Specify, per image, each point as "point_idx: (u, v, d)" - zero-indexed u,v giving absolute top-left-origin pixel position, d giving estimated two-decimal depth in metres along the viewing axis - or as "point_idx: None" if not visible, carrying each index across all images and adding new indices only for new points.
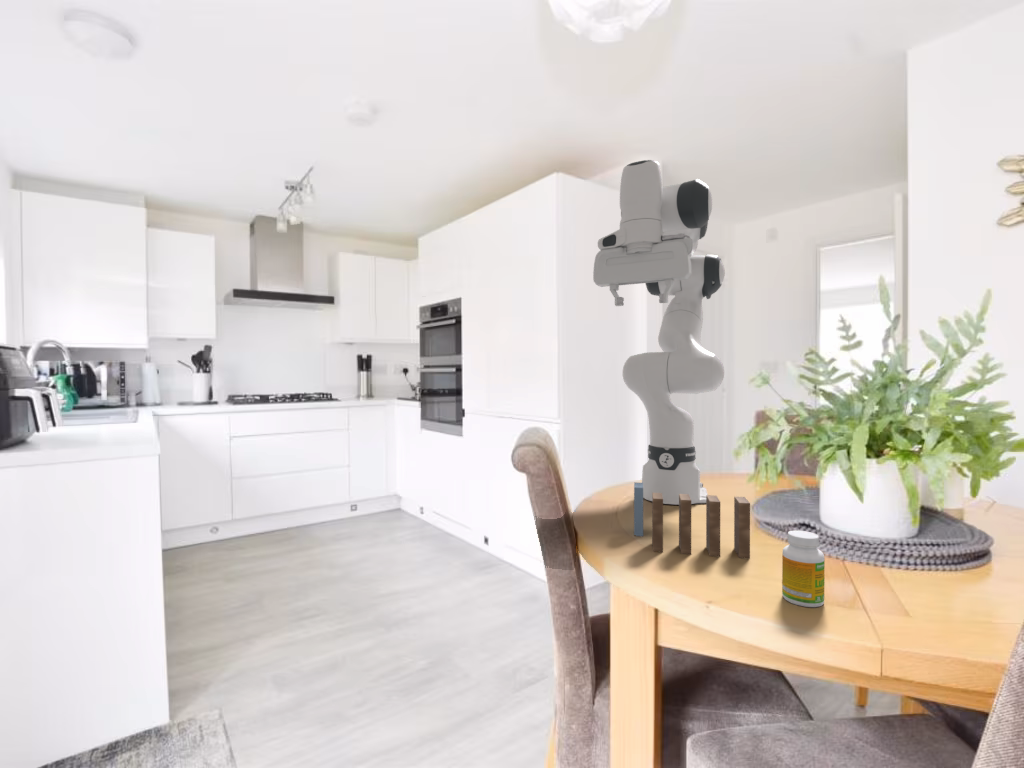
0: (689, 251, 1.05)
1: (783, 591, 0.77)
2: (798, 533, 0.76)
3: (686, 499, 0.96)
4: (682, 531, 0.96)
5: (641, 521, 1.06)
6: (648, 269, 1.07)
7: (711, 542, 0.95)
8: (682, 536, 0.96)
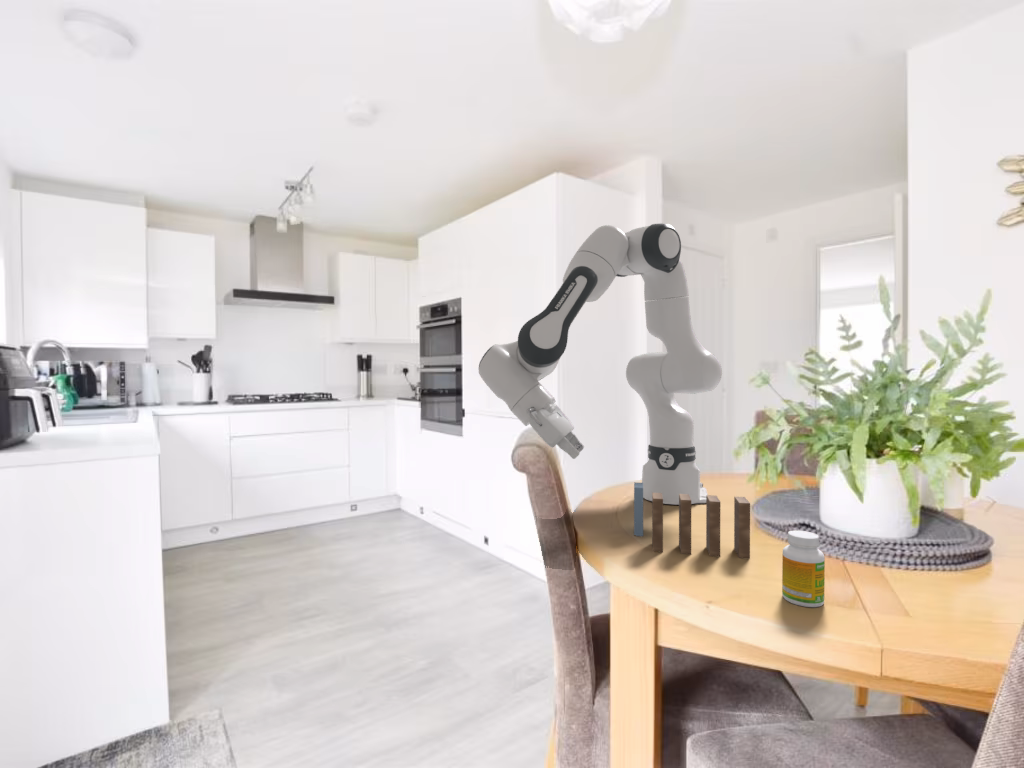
0: (538, 424, 1.03)
1: (783, 591, 0.77)
2: (798, 533, 0.76)
3: (686, 499, 0.96)
4: (682, 531, 0.96)
5: (641, 521, 1.06)
6: None
7: (711, 542, 0.95)
8: (682, 536, 0.96)
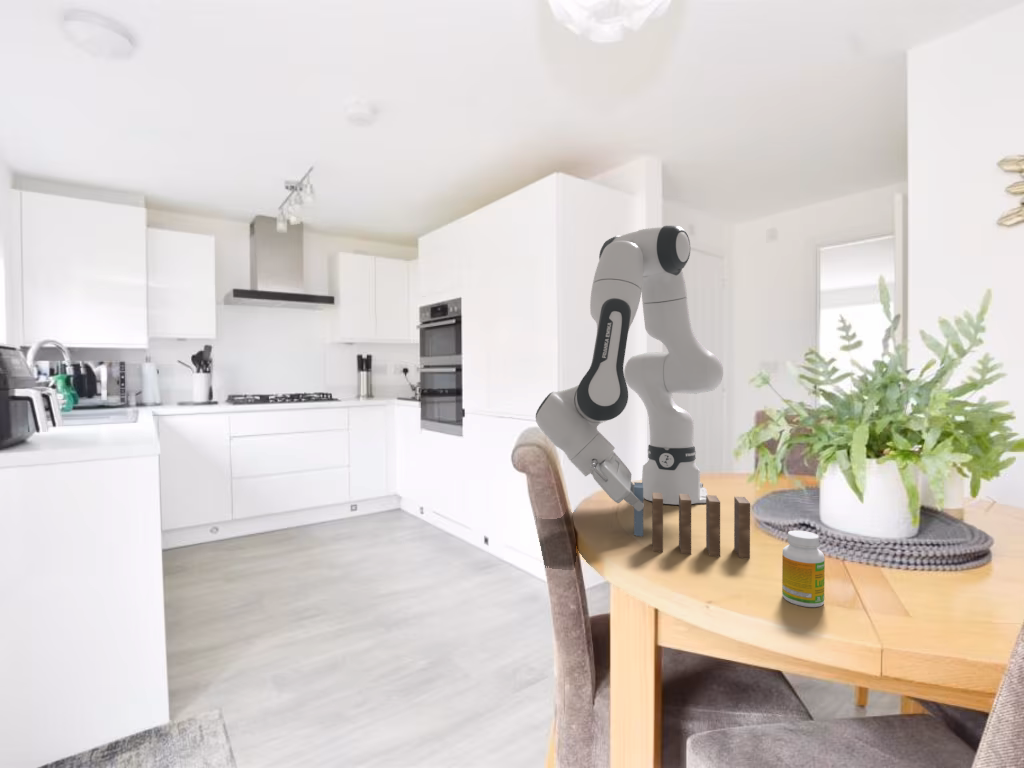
0: (603, 480, 1.01)
1: (783, 591, 0.77)
2: (798, 533, 0.76)
3: (686, 499, 0.96)
4: (682, 531, 0.96)
5: (641, 521, 1.06)
6: None
7: (711, 542, 0.95)
8: (682, 536, 0.96)
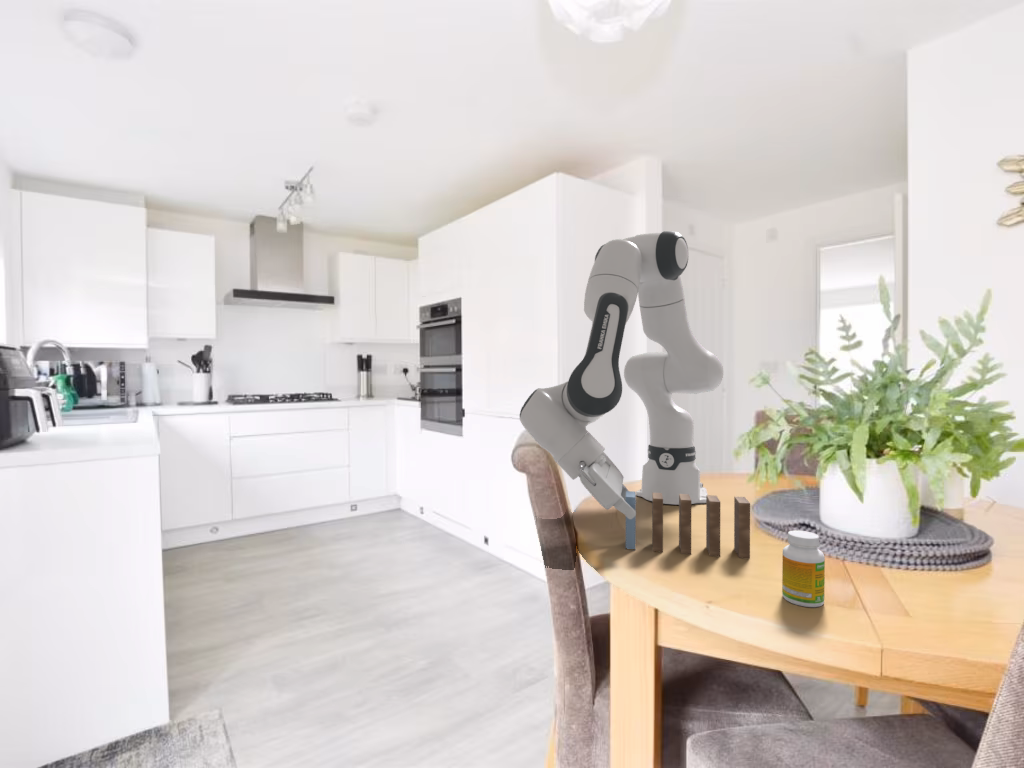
0: (591, 484, 0.92)
1: (783, 591, 0.77)
2: (798, 533, 0.76)
3: (686, 499, 0.96)
4: (682, 531, 0.96)
5: (633, 533, 0.98)
6: None
7: (711, 542, 0.95)
8: (682, 536, 0.96)
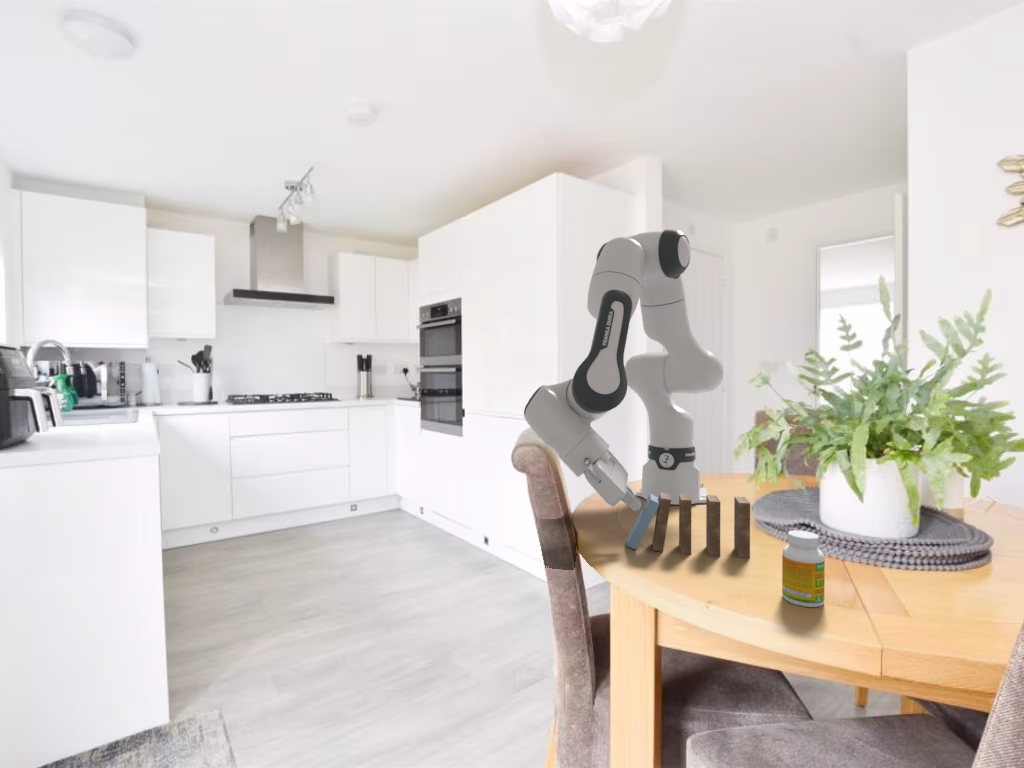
0: (596, 481, 0.92)
1: (783, 591, 0.77)
2: (798, 533, 0.76)
3: (686, 499, 0.96)
4: (682, 531, 0.96)
5: (641, 535, 0.98)
6: None
7: (711, 542, 0.95)
8: (682, 536, 0.96)
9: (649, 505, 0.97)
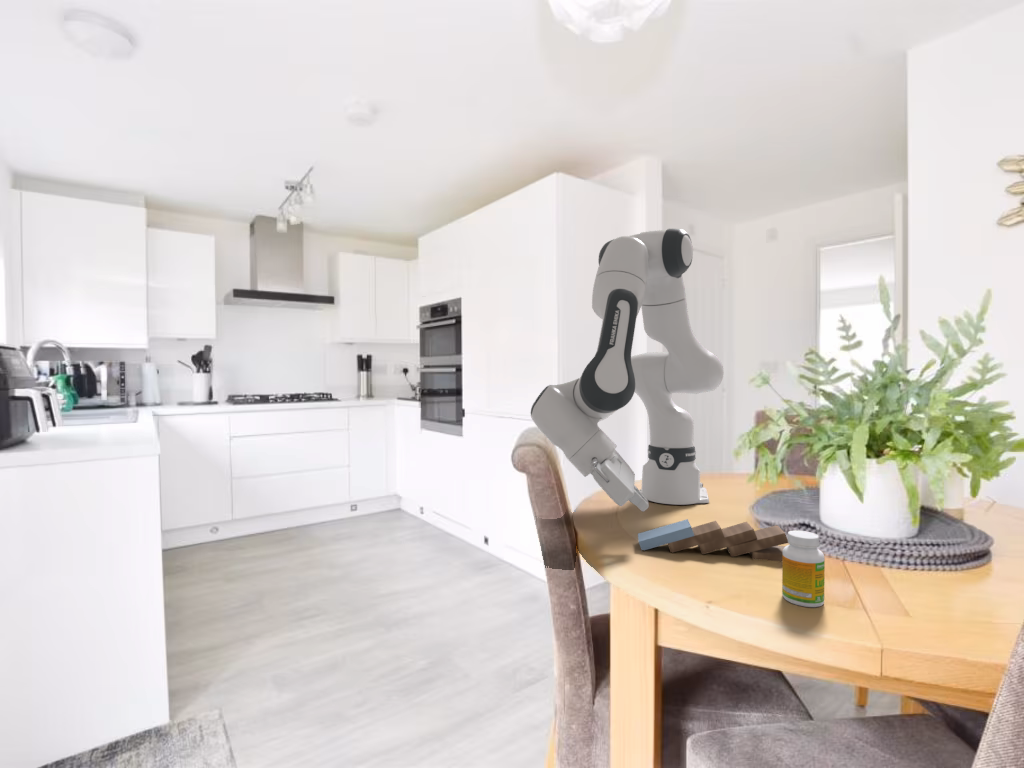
0: (604, 480, 0.92)
1: (783, 591, 0.77)
2: (798, 533, 0.76)
3: (754, 533, 0.94)
4: (721, 539, 0.95)
5: (657, 544, 0.97)
6: None
7: (743, 545, 0.94)
8: (716, 541, 0.95)
9: (685, 529, 0.96)
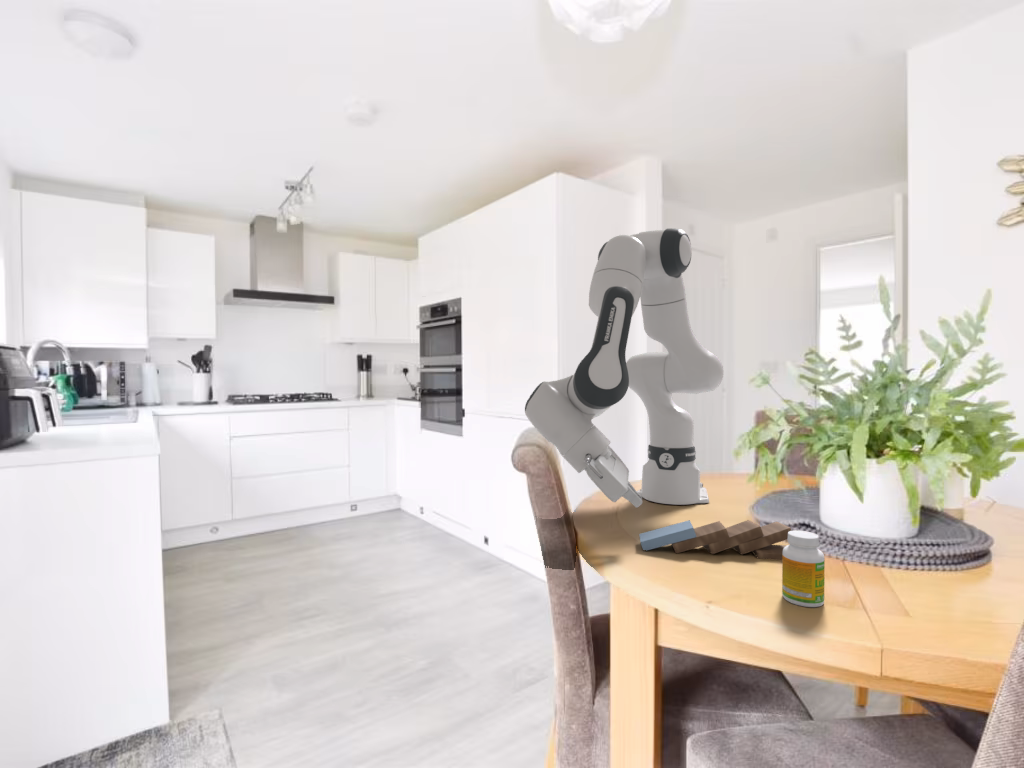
0: (598, 476, 0.92)
1: (783, 591, 0.77)
2: (798, 533, 0.76)
3: None
4: (730, 538, 0.95)
5: (658, 545, 0.97)
6: None
7: (752, 542, 0.95)
8: (725, 540, 0.95)
9: (687, 530, 0.96)
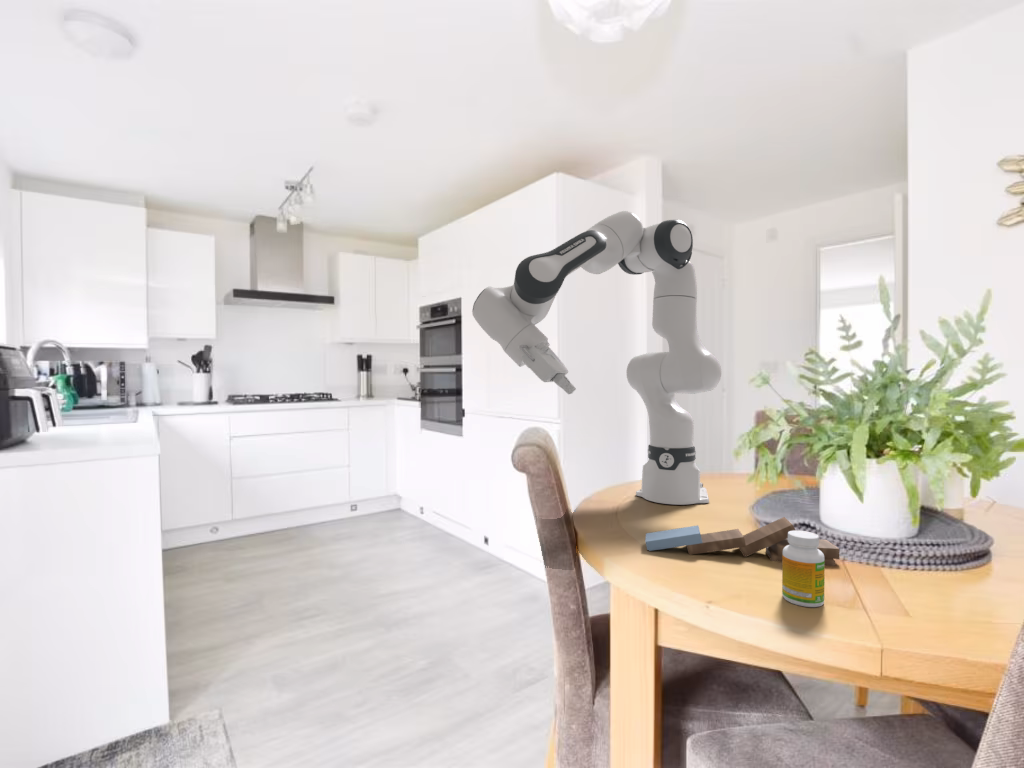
0: (530, 359, 1.04)
1: (783, 591, 0.77)
2: (798, 533, 0.76)
3: None
4: (761, 539, 0.93)
5: (663, 546, 0.97)
6: None
7: None
8: (757, 542, 0.94)
9: (694, 535, 0.95)
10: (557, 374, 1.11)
